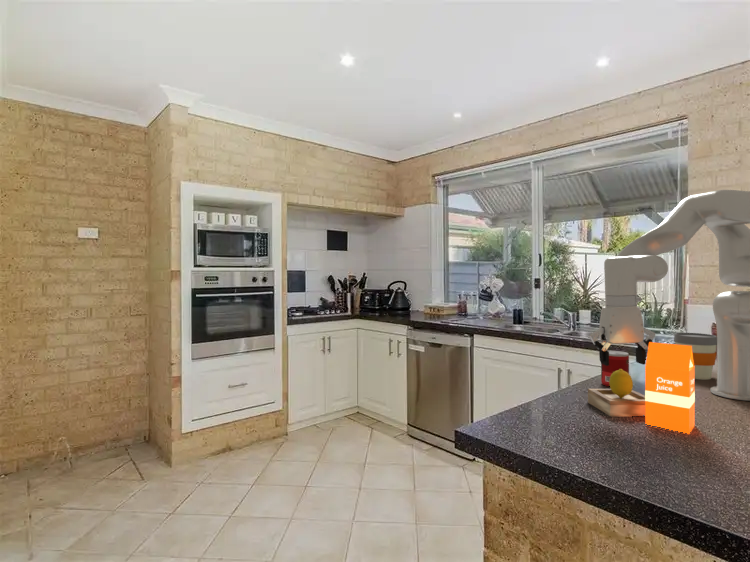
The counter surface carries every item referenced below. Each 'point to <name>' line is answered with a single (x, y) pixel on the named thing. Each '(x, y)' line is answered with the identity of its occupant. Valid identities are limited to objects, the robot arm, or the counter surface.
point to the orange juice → (670, 387)
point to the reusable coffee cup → (700, 351)
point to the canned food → (614, 365)
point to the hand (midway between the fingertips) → (622, 364)
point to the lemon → (621, 383)
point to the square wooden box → (617, 402)
